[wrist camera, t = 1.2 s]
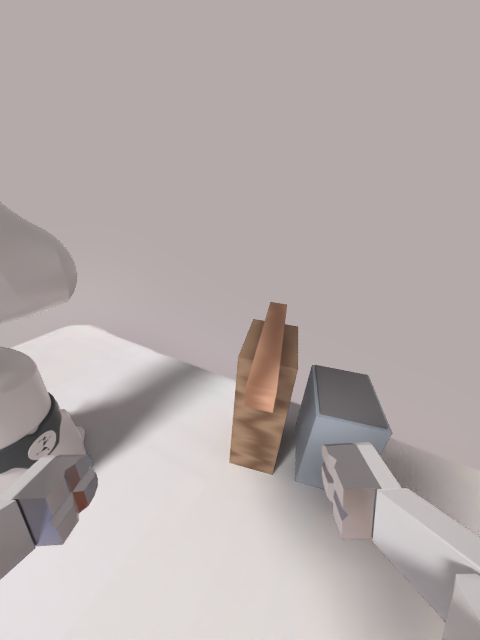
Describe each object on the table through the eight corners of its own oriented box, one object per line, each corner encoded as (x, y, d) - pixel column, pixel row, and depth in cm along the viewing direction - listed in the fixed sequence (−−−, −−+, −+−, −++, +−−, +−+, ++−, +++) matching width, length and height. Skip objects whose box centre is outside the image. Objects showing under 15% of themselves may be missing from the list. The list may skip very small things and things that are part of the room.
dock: (295, 481, 40) (317, 413, 32) (295, 424, 51) (312, 362, 43) (355, 497, 39) (393, 431, 31) (343, 435, 49) (369, 373, 41)
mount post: (229, 462, 42) (238, 357, 31) (243, 411, 53) (253, 319, 42) (272, 474, 41) (297, 369, 30) (277, 419, 51) (298, 326, 40)
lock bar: (243, 406, 24) (246, 384, 22) (268, 316, 43) (270, 302, 42) (272, 412, 23) (276, 390, 22) (284, 319, 42) (287, 304, 41)
